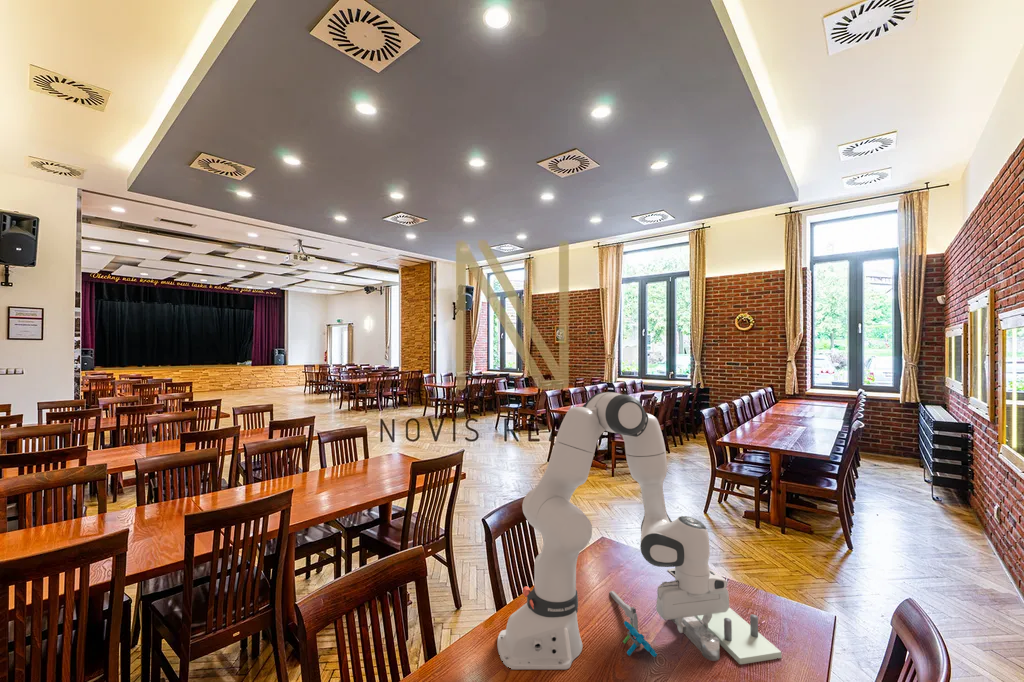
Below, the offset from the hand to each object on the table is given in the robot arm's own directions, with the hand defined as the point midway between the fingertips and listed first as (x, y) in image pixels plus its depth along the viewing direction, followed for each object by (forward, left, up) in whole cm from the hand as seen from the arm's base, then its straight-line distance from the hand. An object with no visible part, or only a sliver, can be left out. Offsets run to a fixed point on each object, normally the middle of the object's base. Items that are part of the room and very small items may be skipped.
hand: (692, 629), depth 119 cm
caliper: (-14, +14, -2) cm, 20 cm away
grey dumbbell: (0, 0, -2) cm, 2 cm away
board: (+11, +2, -2) cm, 11 cm away
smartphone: (+16, +26, -2) cm, 31 cm away
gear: (-17, -3, -2) cm, 18 cm away
